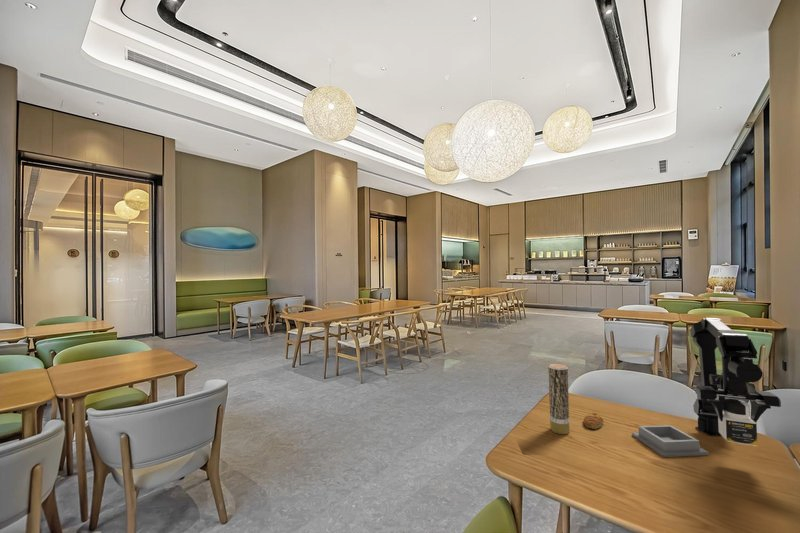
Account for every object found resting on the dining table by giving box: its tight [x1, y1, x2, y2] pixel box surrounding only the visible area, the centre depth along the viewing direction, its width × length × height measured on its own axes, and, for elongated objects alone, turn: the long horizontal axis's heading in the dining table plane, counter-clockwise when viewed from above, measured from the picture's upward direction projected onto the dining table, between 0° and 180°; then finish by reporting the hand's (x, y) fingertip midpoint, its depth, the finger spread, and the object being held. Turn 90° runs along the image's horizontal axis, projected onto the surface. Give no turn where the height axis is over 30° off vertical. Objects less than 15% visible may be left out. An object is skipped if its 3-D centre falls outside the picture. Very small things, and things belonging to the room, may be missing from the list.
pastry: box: [583, 412, 605, 430], centre depth 138 cm, size 9×7×4 cm
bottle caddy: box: [631, 424, 709, 458], centre depth 122 cm, size 15×15×4 cm
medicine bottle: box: [718, 398, 758, 447], centre depth 109 cm, size 7×7×12 cm
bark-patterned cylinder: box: [548, 363, 570, 435], centre depth 134 cm, size 7×7×25 cm
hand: (736, 422), depth 109 cm, fingers closed on medicine bottle, 7 cm apart
